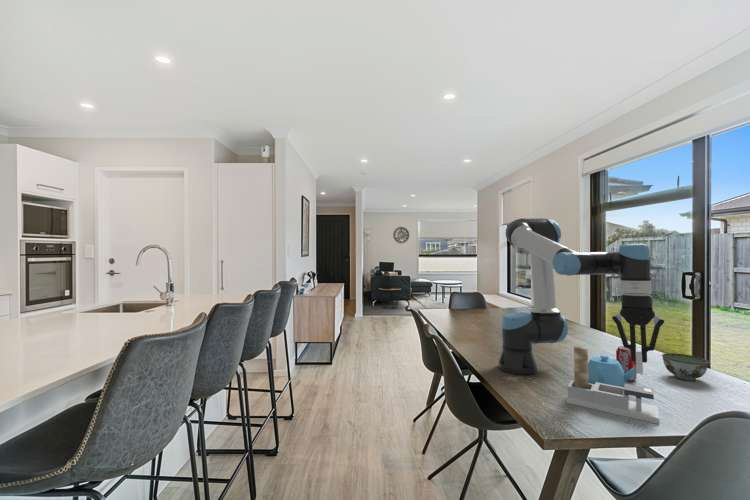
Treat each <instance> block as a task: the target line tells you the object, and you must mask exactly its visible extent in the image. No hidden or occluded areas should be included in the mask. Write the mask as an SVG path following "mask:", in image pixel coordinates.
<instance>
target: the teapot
mask: <svg viewBox="0 0 750 500" xmlns="http://www.w3.org/2000/svg"><path fill="white" fill-rule="evenodd" d="M637 374H638V373H637V371H636V369H635V368H632V369H631V370H629V371H628V372H626V373H625V374H624V371H623V368H622V366H621V364H620V363H619V361H617V360H616V359H613V358H609V356H608V355H603V354H601V355H600V356H592V357H591V358H590V360H588V380H589V383H590V384H595V383H596V382H597V383H603V384H608V385H613V386H619V387H624V385H625V384H626V383H627V382H626V381H627V380H628V379H630V378H631V377H633V376H634V375H636V376H637Z"/></svg>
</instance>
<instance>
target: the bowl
mask: <svg viewBox="0 0 750 500" xmlns="http://www.w3.org/2000/svg"><path fill="white" fill-rule="evenodd" d="M661 357H662V361H663V364H664V367H665V368H666V369H667V370H668V372H669V373H671V375H672V374H673V376H674V378H676V379H678V380H681V381H684V382H685V381H686V382H695V381H696V379H700V378H701V377H703V376H704V375H705V374H706V372H707V371H708V366H709V364H710V362H709V360H707V359H706V358H702V357H700V356H696V355H690V354H685V353H684V354H683V353H677V352H676V353H673V352H672V353H671V352H670V353H669V352H668V353H667V352H666V353H662V354H661ZM667 370H666V371H667Z"/></svg>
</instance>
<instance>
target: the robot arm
mask: <svg viewBox="0 0 750 500" xmlns="http://www.w3.org/2000/svg"><path fill="white" fill-rule="evenodd" d="M505 237H506V240H507V242H509V244H511V245H512V246H514V247H516V248H523V249H524V250H526V251H527V252H529V253H530V265H531V280H532V281H531V282H532V295H533V308H532V309H531V310H530V312H525V311H523V312H518V311H517V312H511V313H507V314H505V315H504V316H503V317H502V321H501V330H502V333H501V334H502V335H501V337H502V351H501V354H500V357H499V360H498V369H499V368H500V369H499V370H500V371H503V372H504V373H508V374H513V375H517V376H518V375H519V376H523V375H524V376H526V375H527V376H529V375H535V374H536V373H538V365H537V362H536V360H535V359H536V358H535V356H534V353H533V344H534V345H536V344H555V343H561V342H563V341H564V340H565V339H566V337H567V336H568V331H569V325H568V321H567V319H566V318H565V316H563V315H561V311H560V309H558V308H557V303H556V289H555V288H556V287H555V276H554V274H555V273H557V274H558V275H559V276H560V275H561V276H570V277H571V276H582V275H583V276H584V275H585V276H586V275H589V276H590V275H594V276H596V275H603V276H604V275H618V276H620V279H619V280H620V293H621V294H622V295H620V296H621V297H620V300H621V301H620V303H621V309H620V310H619V313H617V314H614V315H612V317H611V319H612V321H614V323H615V324H616V327H617V330H618V334H619V337H620V339H621V342H622V346H624V347H625V348H628V349H630V350H631V359H632V361H636V371H637V374H640V375H643V374H644V367H643V366H644V364H643V363H645V364H647V362H648V352H650V351H654V350H655V349H656V345H657V340H658V336H659V332H660V331H661V330H660V328H661V327H662V325H664V324H665V319H664V318H662V317H659V316H657V315H656V313H655V311H654V310H653V296H651V294H652V293H653V292H652V291H653V288H652V277H651V274H652V273H651V254H650V247H649V245H647V244H646V243H645V244H644V243H632V244H631V243H630V244H629V243H628V244H621V245H619V247H618V251H584V252H583V251H582V252H581V251H576V250H573V249H571V248H569V247H567V246H565V245H562V244H560V241H561V237H562V231H561V228H560V225H559V224H558V223H557V222H556V221H555V220H554V219H551V218H525V217H524V218H523V217H522V218H517V219H514V220H512V221H511V222H509V224H508V225H507V226H506V229H505ZM554 272H555V273H554ZM622 319H624V320H625V321H626V322H627V324H629V337H630V338H629V340H630V343H629V342H628V338H627V335H626V332H625V329H624V326H623V323H622ZM652 320H653V324H654V327H653V330H652V335H651V338H650V342H649V345H647V331H646V330H647V329H646V326H647V325H648V324H649V323H650V322H651V321H652ZM636 326H639V328H640V345H641V349H637V344H636V342H637V341H636V340H637V339H636Z"/></svg>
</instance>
